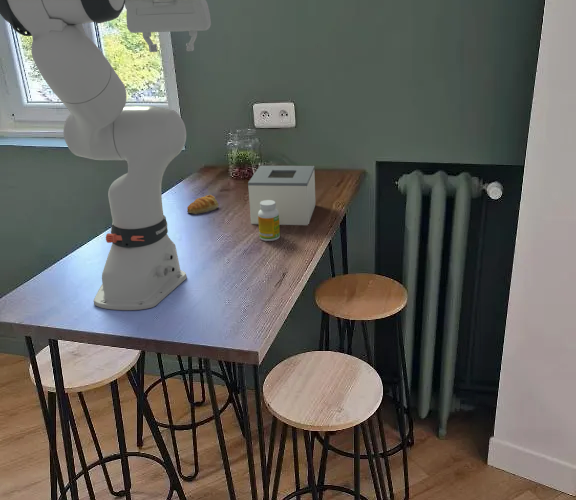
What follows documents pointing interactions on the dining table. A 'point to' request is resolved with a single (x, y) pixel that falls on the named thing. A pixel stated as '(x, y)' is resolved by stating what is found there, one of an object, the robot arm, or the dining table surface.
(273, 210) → the supplement bottle
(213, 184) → the dining table surface
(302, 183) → the hole box
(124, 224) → the robot arm
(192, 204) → the pastry
